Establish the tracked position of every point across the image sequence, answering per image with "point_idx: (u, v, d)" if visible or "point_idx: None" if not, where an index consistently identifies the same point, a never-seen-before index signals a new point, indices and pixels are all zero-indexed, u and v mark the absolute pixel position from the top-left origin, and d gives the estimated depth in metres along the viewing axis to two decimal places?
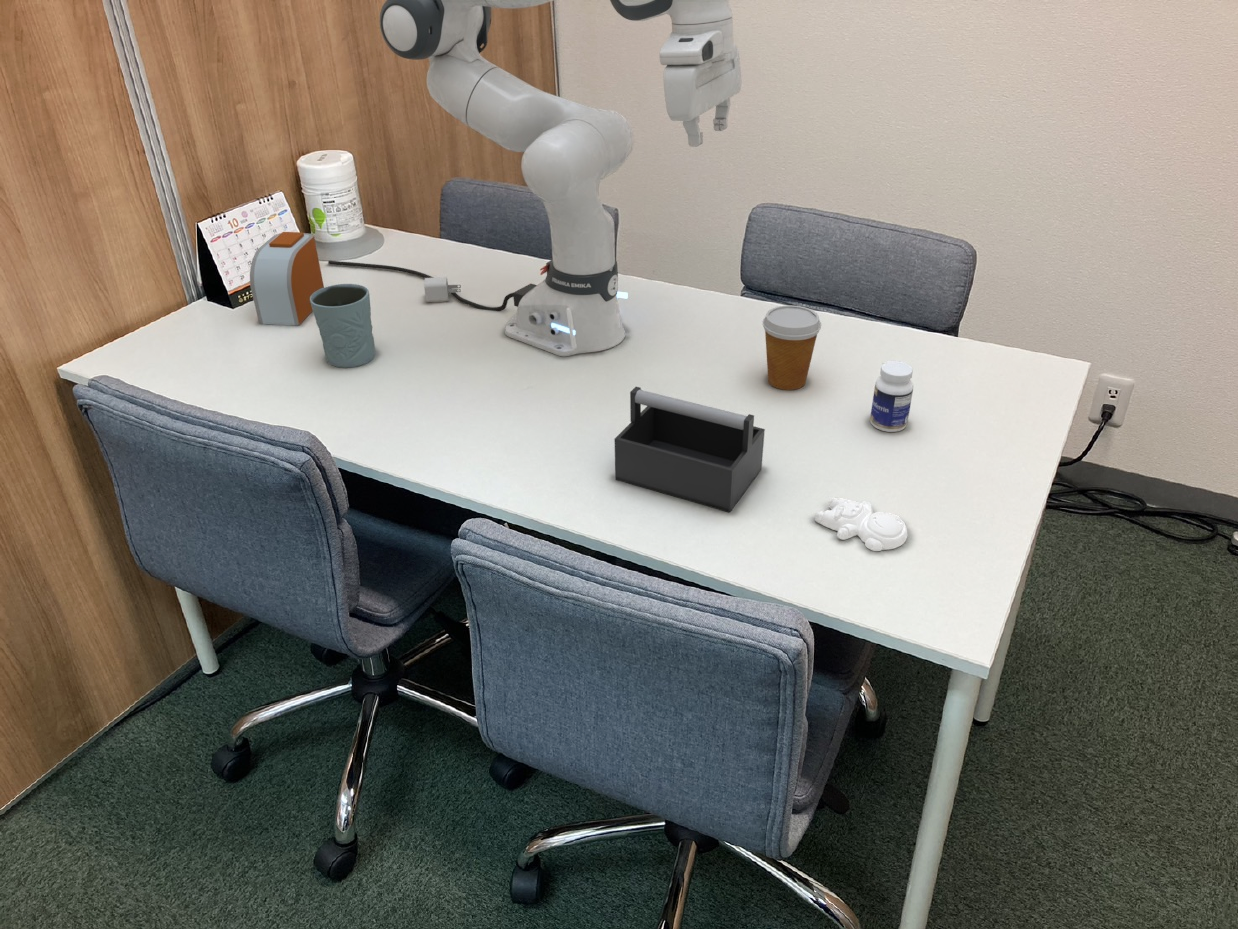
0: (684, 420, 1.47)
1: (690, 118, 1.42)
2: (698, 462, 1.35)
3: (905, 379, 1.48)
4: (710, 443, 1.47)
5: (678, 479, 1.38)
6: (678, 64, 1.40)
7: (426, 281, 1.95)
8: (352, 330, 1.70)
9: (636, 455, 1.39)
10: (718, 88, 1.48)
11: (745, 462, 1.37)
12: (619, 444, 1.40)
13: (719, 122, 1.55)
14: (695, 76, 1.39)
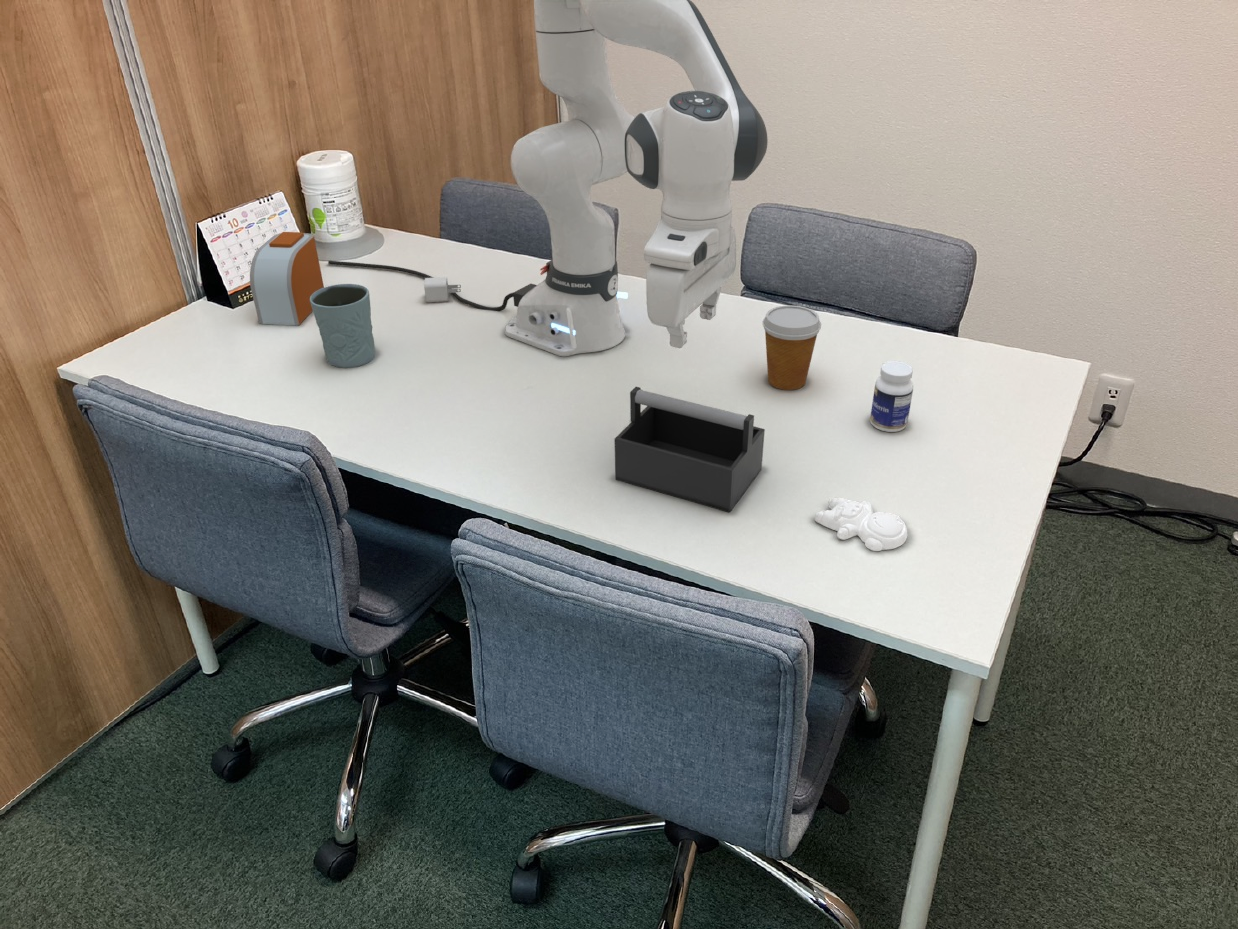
0: (684, 420, 1.47)
1: (674, 326, 1.21)
2: (698, 462, 1.35)
3: (905, 379, 1.48)
4: (710, 443, 1.47)
5: (678, 479, 1.38)
6: (665, 266, 1.19)
7: (426, 281, 1.95)
8: (352, 330, 1.70)
9: (636, 455, 1.39)
10: (709, 282, 1.27)
11: (745, 462, 1.37)
12: (619, 444, 1.40)
13: (706, 310, 1.34)
14: (684, 283, 1.19)
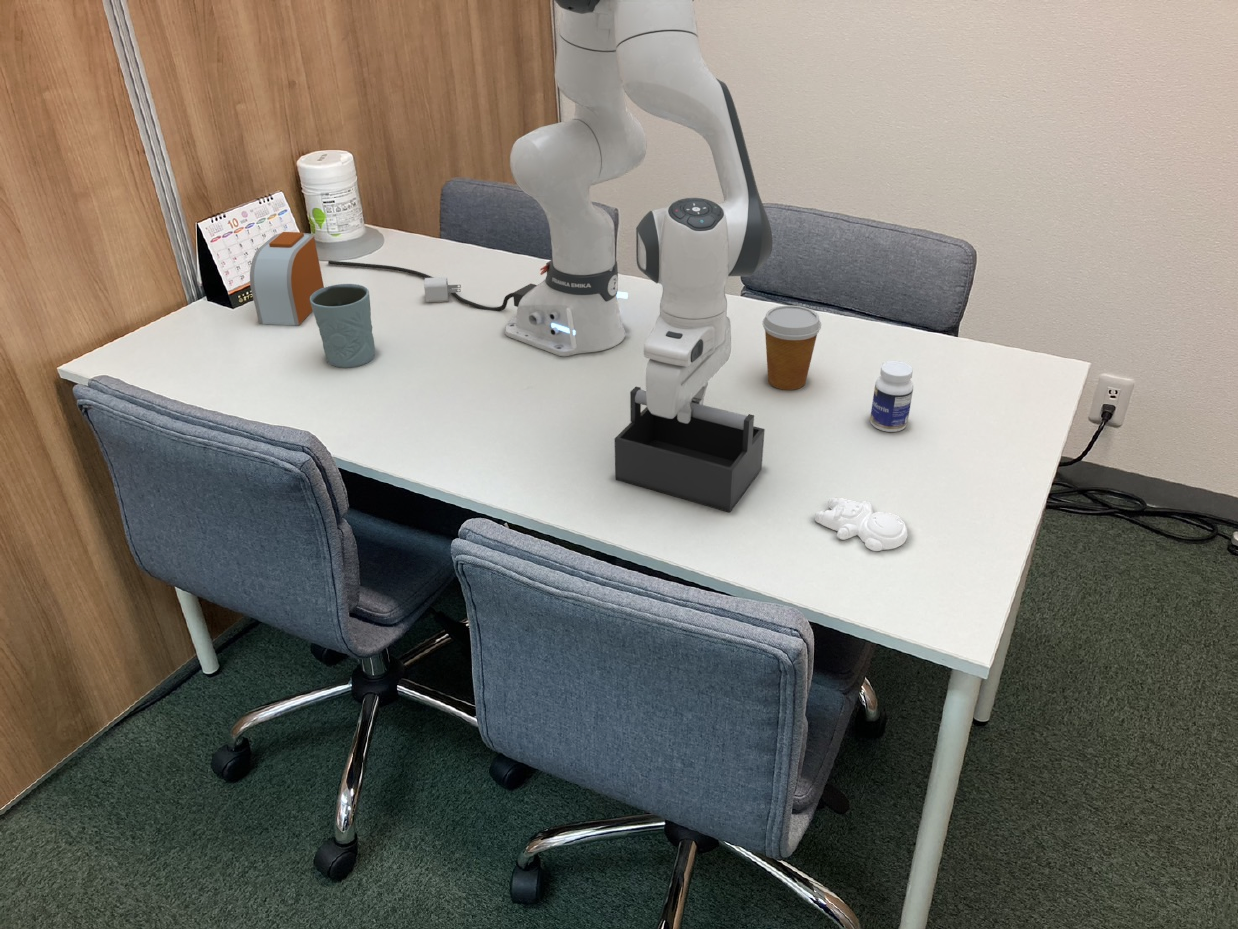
0: None
1: (672, 417, 1.29)
2: (698, 462, 1.35)
3: (905, 379, 1.48)
4: (710, 443, 1.47)
5: (678, 479, 1.38)
6: (663, 362, 1.26)
7: (426, 281, 1.95)
8: (352, 330, 1.70)
9: (636, 455, 1.39)
10: (705, 371, 1.35)
11: (745, 462, 1.37)
12: (619, 444, 1.40)
13: None
14: (681, 378, 1.26)
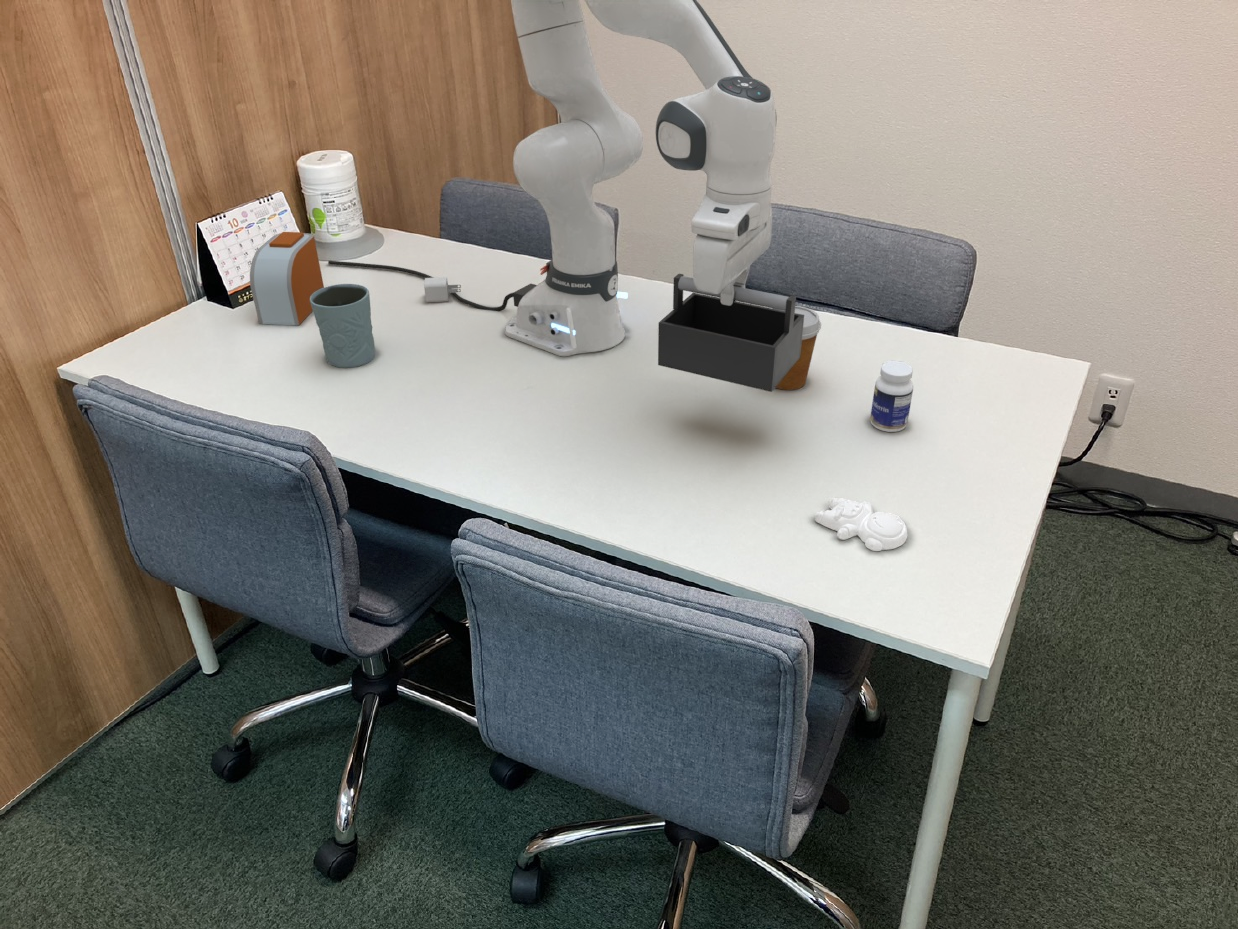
0: (724, 310, 1.51)
1: (718, 292, 1.32)
2: (741, 341, 1.38)
3: (905, 379, 1.48)
4: (749, 332, 1.50)
5: (721, 361, 1.42)
6: (711, 236, 1.30)
7: (426, 281, 1.95)
8: (352, 330, 1.70)
9: (680, 338, 1.43)
10: (748, 253, 1.38)
11: (786, 343, 1.41)
12: (663, 327, 1.44)
13: None
14: (728, 252, 1.29)
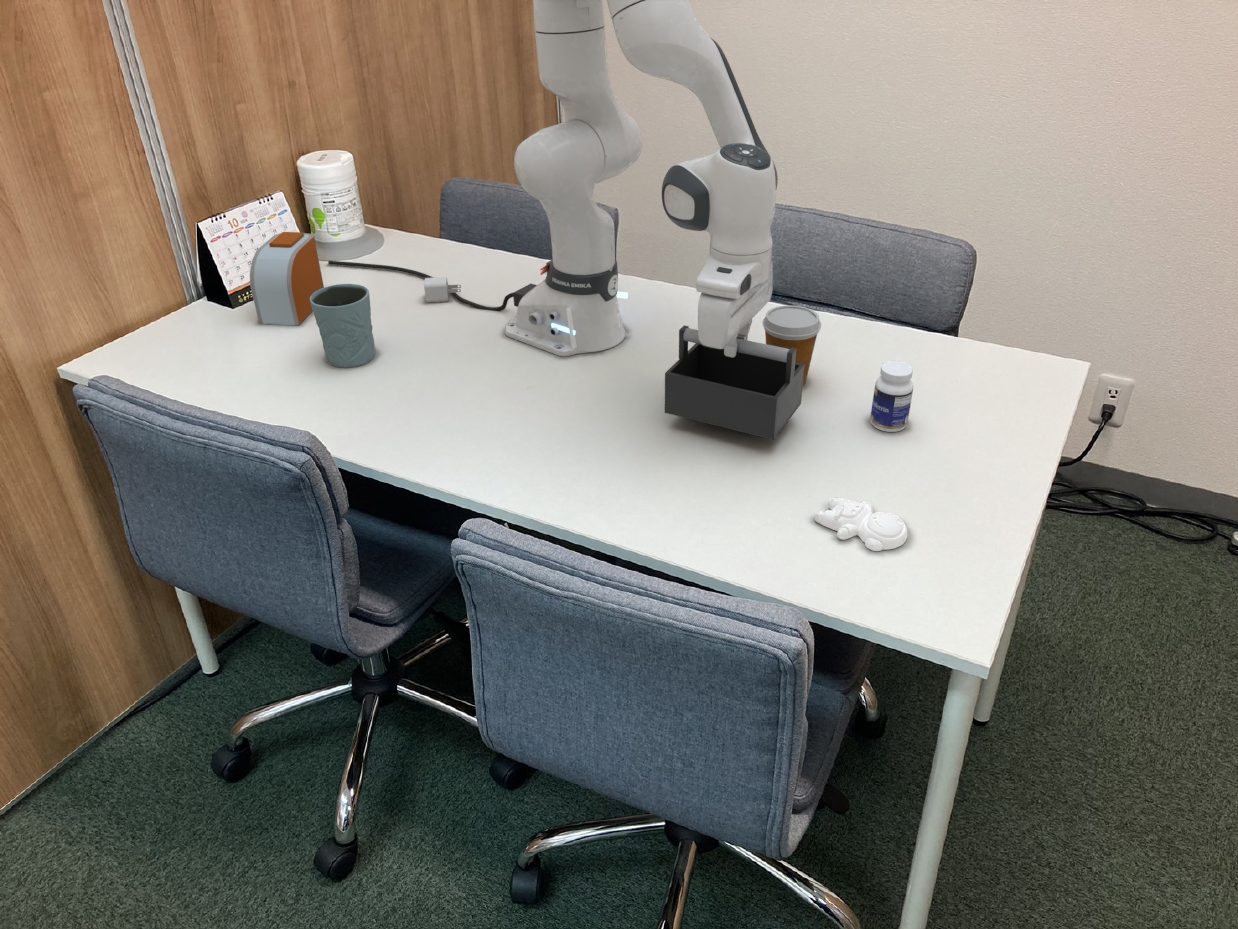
0: (728, 358, 1.57)
1: (722, 347, 1.39)
2: (744, 392, 1.45)
3: (905, 379, 1.48)
4: (752, 380, 1.57)
5: (725, 410, 1.48)
6: (714, 295, 1.36)
7: (426, 281, 1.95)
8: (352, 330, 1.70)
9: (685, 388, 1.49)
10: (750, 308, 1.45)
11: (787, 393, 1.47)
12: (669, 378, 1.50)
13: None
14: (731, 310, 1.36)
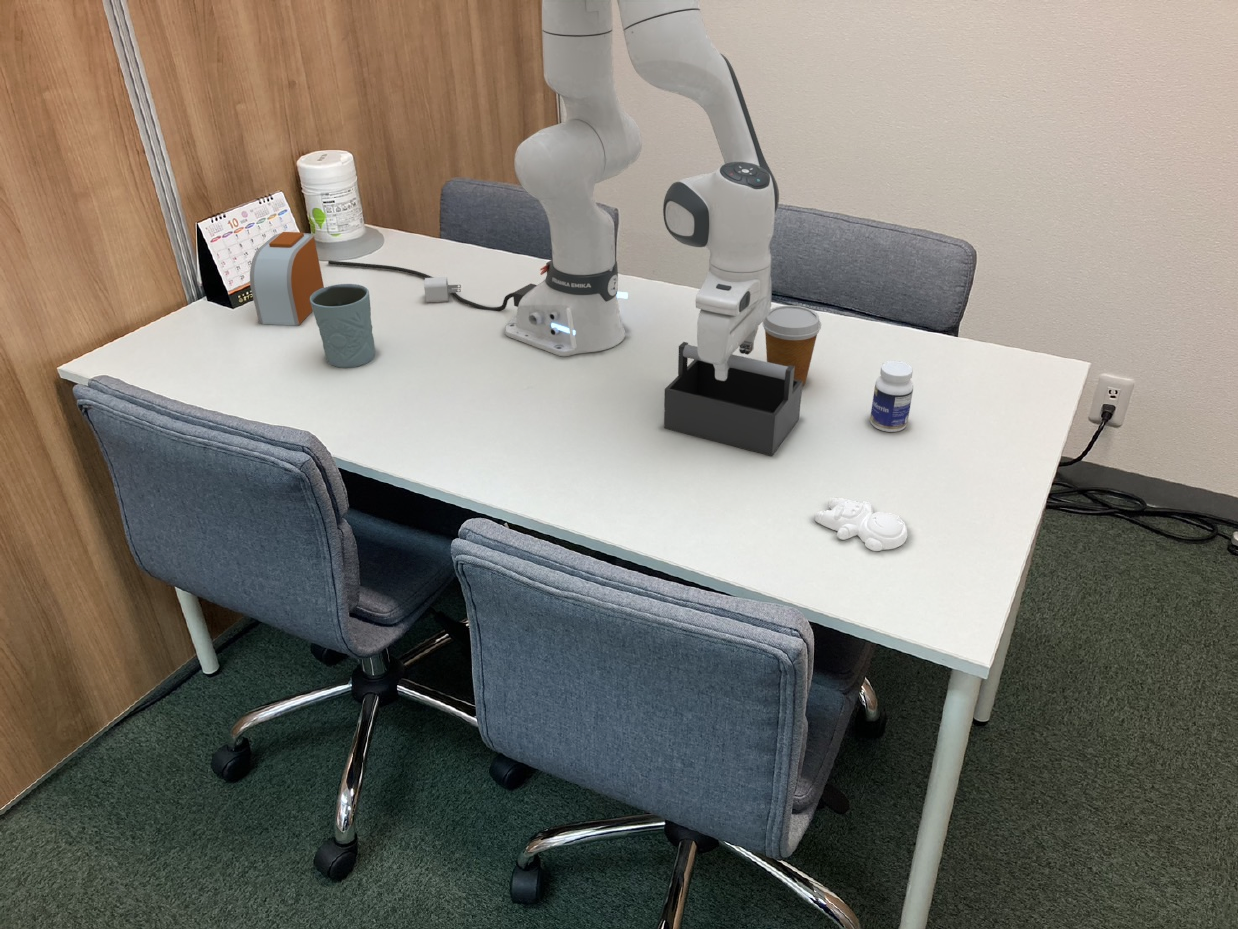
0: None
1: (721, 363, 1.40)
2: (743, 409, 1.46)
3: (905, 379, 1.48)
4: (751, 396, 1.58)
5: (724, 426, 1.50)
6: (714, 312, 1.38)
7: (426, 281, 1.95)
8: (352, 330, 1.70)
9: (684, 404, 1.51)
10: (749, 323, 1.46)
11: (786, 410, 1.49)
12: (668, 394, 1.52)
13: (745, 346, 1.53)
14: (730, 327, 1.37)
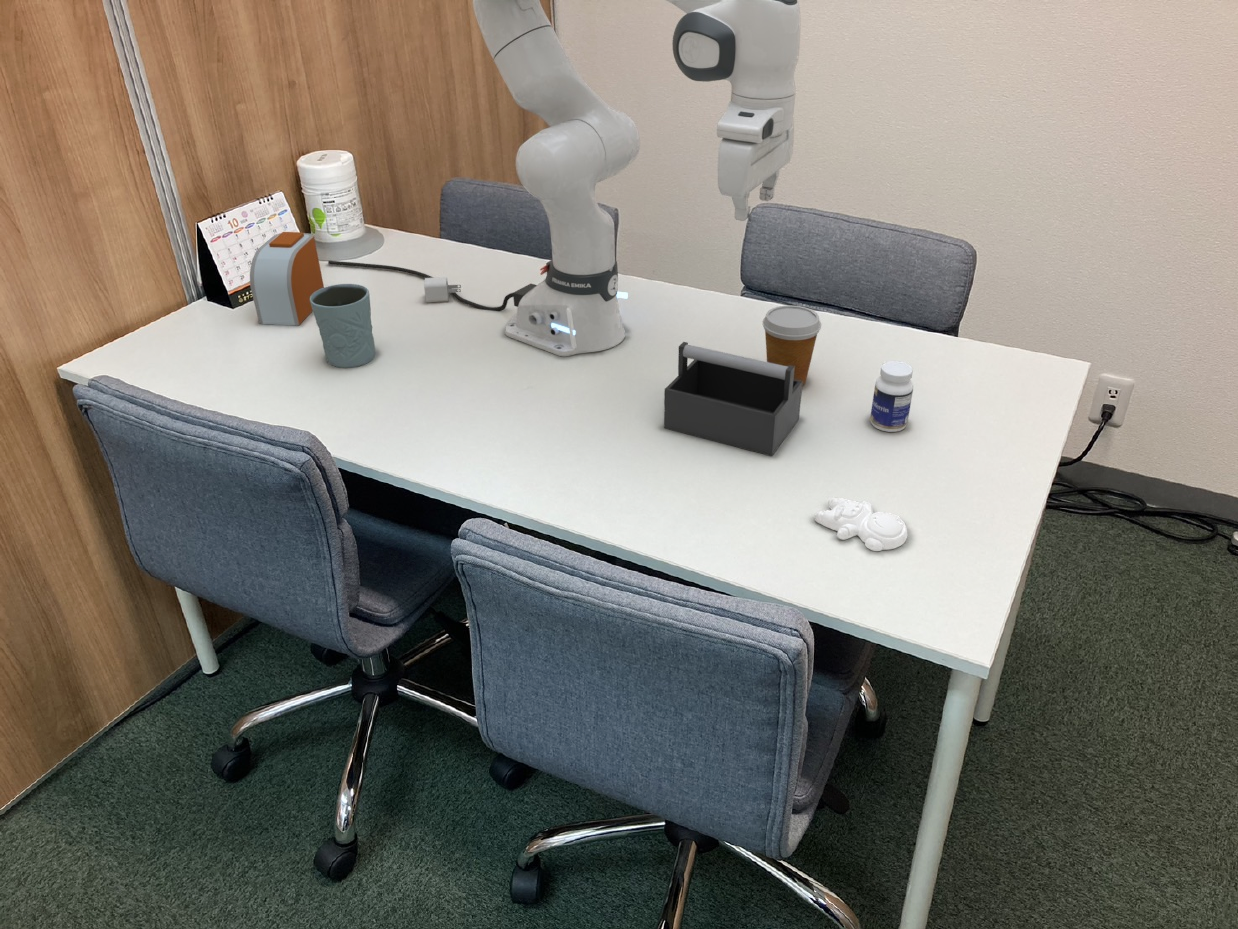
0: (727, 374, 1.58)
1: (741, 196, 1.36)
2: (743, 409, 1.46)
3: (905, 379, 1.48)
4: (751, 396, 1.58)
5: (724, 426, 1.50)
6: (736, 140, 1.33)
7: (426, 281, 1.95)
8: (352, 330, 1.70)
9: (684, 404, 1.51)
10: (771, 162, 1.42)
11: (786, 410, 1.49)
12: (668, 394, 1.52)
13: (765, 192, 1.49)
14: (752, 155, 1.33)
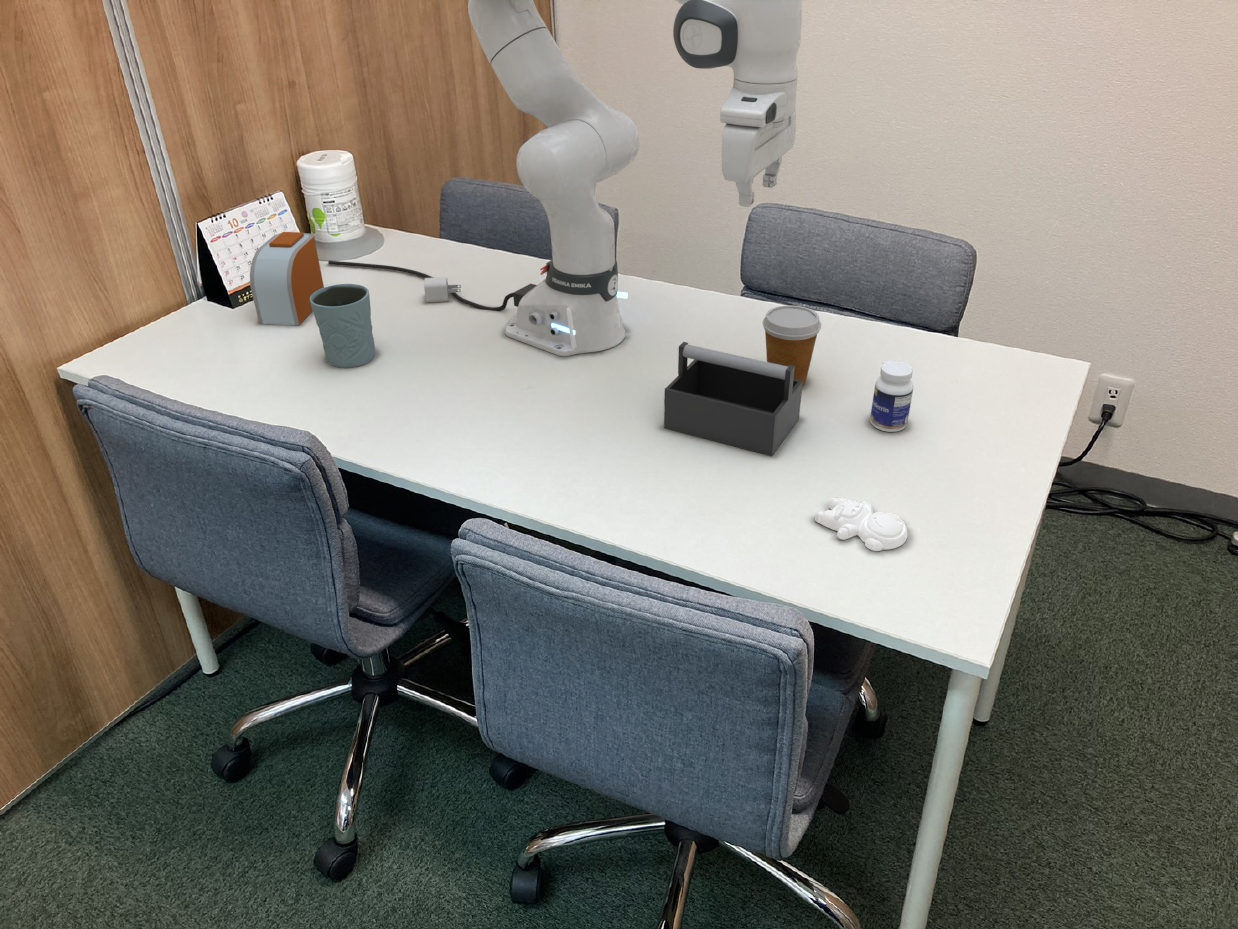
0: (727, 374, 1.58)
1: (746, 181, 1.36)
2: (743, 409, 1.46)
3: (905, 379, 1.48)
4: (751, 396, 1.58)
5: (724, 426, 1.50)
6: (739, 125, 1.34)
7: (426, 281, 1.95)
8: (352, 330, 1.70)
9: (684, 404, 1.51)
10: (774, 147, 1.42)
11: (786, 410, 1.49)
12: (668, 394, 1.52)
13: (768, 179, 1.49)
14: (756, 139, 1.33)
